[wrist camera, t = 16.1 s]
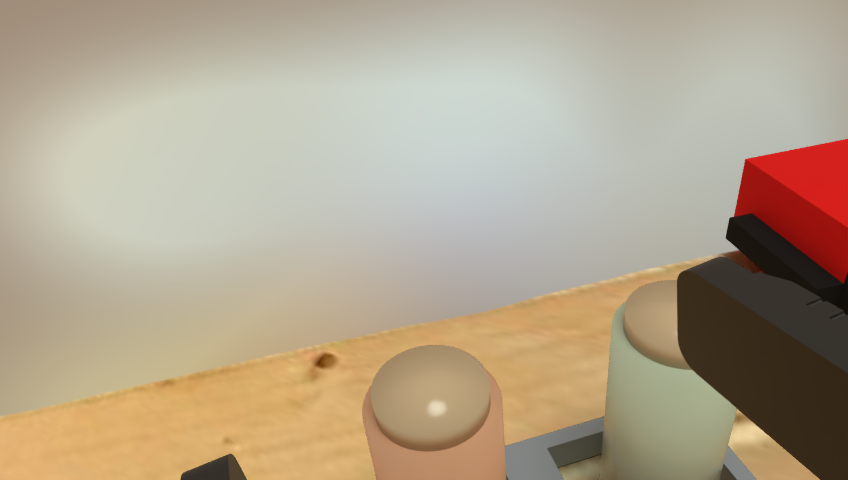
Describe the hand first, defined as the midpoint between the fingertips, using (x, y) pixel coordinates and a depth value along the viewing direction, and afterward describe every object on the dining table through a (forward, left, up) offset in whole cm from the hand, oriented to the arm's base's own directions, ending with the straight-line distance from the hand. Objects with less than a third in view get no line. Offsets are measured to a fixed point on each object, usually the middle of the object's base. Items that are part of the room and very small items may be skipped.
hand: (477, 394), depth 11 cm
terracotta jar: (+1, +11, -27) cm, 29 cm away
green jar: (+13, +12, -27) cm, 32 cm away
